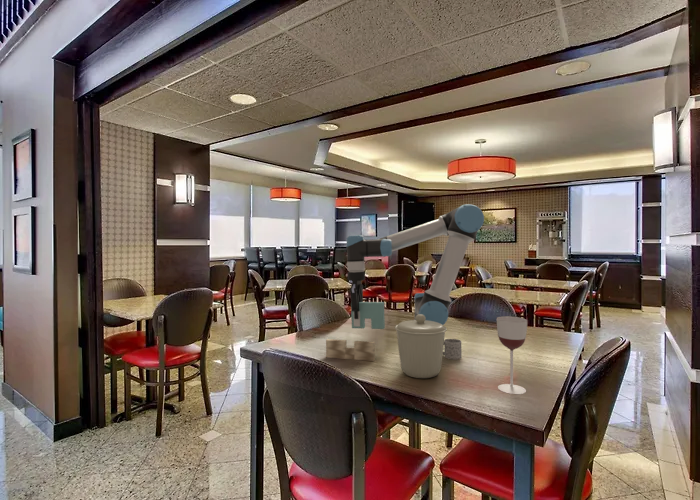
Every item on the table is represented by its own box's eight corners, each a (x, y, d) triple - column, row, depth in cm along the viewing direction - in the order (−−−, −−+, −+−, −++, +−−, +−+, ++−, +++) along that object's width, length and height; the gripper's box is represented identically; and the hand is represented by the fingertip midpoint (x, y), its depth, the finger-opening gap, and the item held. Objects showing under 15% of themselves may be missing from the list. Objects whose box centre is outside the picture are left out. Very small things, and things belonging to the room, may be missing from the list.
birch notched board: (375, 359, 151) (375, 342, 151) (374, 361, 149) (374, 343, 149) (327, 355, 157) (327, 339, 157) (326, 357, 155) (326, 340, 155)
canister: (411, 362, 147) (411, 308, 147) (455, 372, 136) (455, 313, 135) (385, 375, 133) (384, 315, 133) (432, 387, 122) (431, 321, 121)
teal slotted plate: (353, 327, 166) (352, 301, 166) (384, 327, 162) (383, 302, 162) (351, 328, 164) (350, 302, 164) (383, 329, 160) (382, 303, 160)
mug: (461, 355, 156) (461, 339, 156) (461, 360, 149) (461, 343, 149) (436, 353, 159) (436, 337, 158) (435, 358, 152) (435, 341, 152)
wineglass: (520, 383, 124) (520, 316, 124) (532, 395, 114) (531, 322, 114) (493, 382, 125) (493, 316, 125) (501, 394, 115) (501, 322, 115)
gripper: (352, 269, 173) (354, 321, 173) (342, 272, 158) (344, 329, 158) (368, 269, 170) (370, 321, 171) (360, 272, 156) (362, 329, 156)
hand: (358, 325), depth 164 cm, fingers closed on teal slotted plate, 2 cm apart
